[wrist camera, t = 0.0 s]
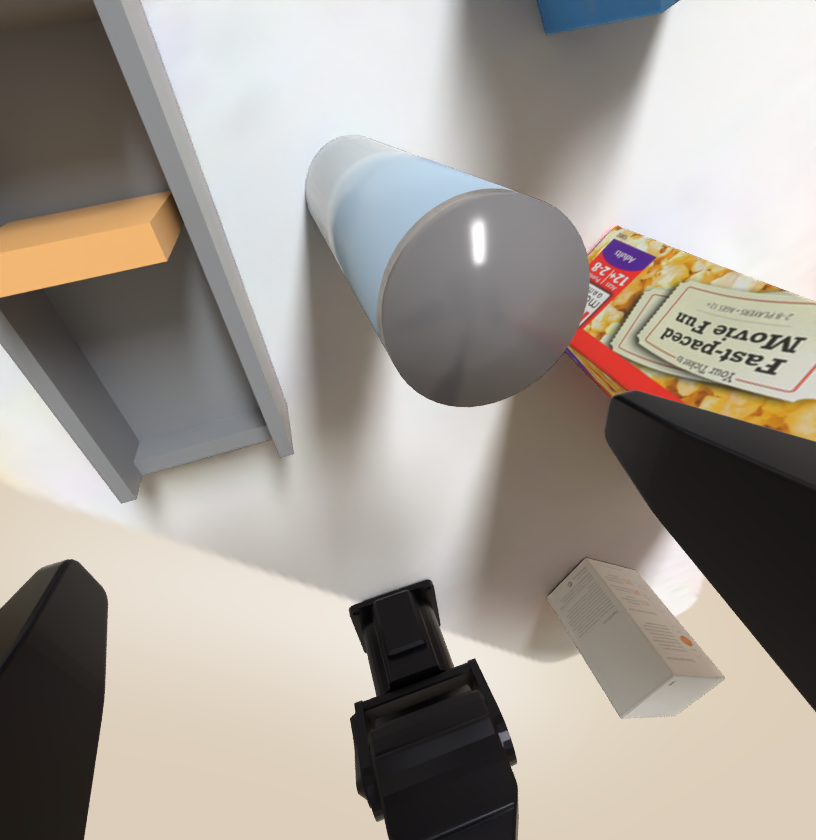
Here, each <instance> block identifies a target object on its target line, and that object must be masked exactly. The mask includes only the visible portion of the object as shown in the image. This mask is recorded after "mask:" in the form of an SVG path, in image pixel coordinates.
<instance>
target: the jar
mask: <svg viewBox="0 0 816 840" xmlns="http://www.w3.org/2000/svg"><path fill="white" fill-rule="evenodd" d="M305 193H306V201H307V205H308V208H309V211H310V213H311V215H312V217H313V219H314V221H315V223H316V225H317V226H318V228H319V230H320V232H321V234H322V235H323V237H324V239H325V241H326V243H327V244H328V246H329V248H330V250H331V252H332V254H333V255H334V257H335V259H336V261H337V263H338V264H339V266H340V268H341V270H342V272H343V273H344V275H345V277H346V279H347V281H348V282H349V284H350V286H351V288H352V290H353V291H354V293H355V295H356V297H357V299H358V300H359V302H360V304H361V306H362V308H363V309H364V311H365V313H366V315H367V317H368V318H369V320H370V322H371V324H372V326H373V327H374V329H375V331H376V333H377V335H378V336H379V338H380V340H381V342H382V344H383V345H384V347H385V349H386V351H387V353H388V355H389V356H390V358H391V360H392V362H393V364H394V365H395V367H396V369H397V370H398V372H399V373H400V375H401V377H402V378H403V379H404V380H405V381H406V382H407V384H408V385H409V386H411V387H412V388H413V389H414V390H415V391H416V392H418V393H419V394H421V395H423V396H424V397H426V398H428V399H430V400H432V401H435V402H437V403H441V404H444V405H448V406H456V407H474V406H482V405H487V404H491V403H495V402H498V401H501V400H503V399H506V398H508V397H510V396H512V395H515V394H517V393H518V392H520V391H522V390H523V389H525V388H527V387H528V386H530V385H531V384H532V383H534V382H535V381H537V380H538V379H539V378H540V377H541V376H542V375H544V374H545V373H546V372H547V371H548V370H549V369H550V368H551V367H552V366H553V365H554V364H555V363H556V362H557V360H558V359H559V358H560V356H561V355H562V354H563V353H564V351H565V350H566V348H567V347H568V345H569V344H570V342H571V341H572V339H573V337H574V335H575V333H576V331H577V329H578V327H579V325H580V322H581V320H582V317H583V314H584V311H585V307H586V304H587V299H588V293H589V281H590V273H589V262H588V257H587V253H586V249H585V246H584V244H583V241H582V238H581V237H580V235H579V233H578V231H577V230H576V228H575V226H574V225H573V224H572V223H571V222H570V220H569V219H568V218H567V217H566V216H565V215H564V214H563V213H561V212H560V211H559V210H558V209H557V208H555V207H553V206H551V205H550V204H548V203H546V202H544V201H541V200H539V199H536V198H533V197H530V196H528V195H525V194H522V193H519V192H517V191H514V190H511V189H508V188H506V187H503V186H500V185H497V184H495V183H492V182H489V181H486V180H483V179H481V178H478V177H475V176H472V175H470V174H467V173H464V172H461V171H459V170H456V169H453V168H450V167H448V166H445V165H442V164H439V163H437V162H434V161H431V160H428V159H425V158H423V157H420V156H417V155H414V154H412V153H409V152H406V151H403V150H401V149H398V148H395V147H392V146H390V145H387V144H384V143H381V142H379V141H376V140H373V139H370V138H367V137H364V136H359V135H348V136H342V137H339V138H336V139H334V140H332V141H330V142H329V143H327V144H326V145H325V146H324V147H322V148H321V149H320V150H319V152H318V153H317V154H316V155H315V157H314V159H313V160H312V162H311V164H310V166H309V169H308V172H307V177H306V184H305Z"/></svg>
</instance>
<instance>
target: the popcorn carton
mask: <svg viewBox="0 0 816 840" xmlns="http://www.w3.org/2000/svg"><path fill="white" fill-rule="evenodd" d="M587 257H588V262H589V273H590V281H589V293H588V299H587V304H586V307H585V311H584V314H583V317H582V320H581V322H580V325H579V327H578V329H577V331H576V333H575V335H574V337H573V339H572V341H571V342H570V344H569V345H568V347H567V348H566V350H565V352H566V353H567V354H568V355H569V356H570V357H571V358H572V359H573V360H574V361H575V362H576V363H577V364H578V365H579V366H580V367H581V368H582V370H583V371H584V372H585V373H586V374H587V375H588V376H589V377H590V378H591V379H592V380H593V381H594V382H595V383H596V384H597V385H598V386H599V387H600V388H601V389H602V390H603V391H604V392H605V393H606V394H607V395H608V396H609V397H610V398H612V397H613V396H614V395H617V394H620V393H623V392H627V391H630V390H638V391H642V392H645V393H649V394H652V395H655V396H659V397H662V398H666V399H669V400H673V401H676V402H680V403H683V404H687V405H690V406H694V407H697V408H701V409H704V410H708V411H711V412H715V413H718V414H722V415H725V416H729V417H732V418H736V419H739V420H743V421H746V422H750V423H753V424H757V425H760V426H763V427H767V428H770V429H774V430H777V431H781V432H784V433H788V434H791V435H795V436H798V437H802V438H805V439H809V440H812V441H816V302H815V301H812V300H810V299H807V298H804V297H802V296H799V295H796V294H794V293H791V292H788V291H786V290H783V289H780V288H778V287H775V286H772V285H770V284H767V283H764V282H762V281H759V280H756V279H754V278H751V277H749V276H746V275H743V274H741V273H738V272H735V271H733V270H730V269H727V268H725V267H722V266H719V265H717V264H714V263H712V262H709V261H707V260H704V259H701V258H699V257H696V256H694V255H691V254H689V253H686V252H684V251H681V250H678V249H675V248H673V247H670V246H668V245H666V244H664V243H662V242H659V241H656V240H653V239H651V238H648V237H645V236H643V235H640V234H638V233H635V232H633V231H630V230H628V229H624V228H621V227H619V226H616V227H614V228H613V229H612V230H611V231H610V232H609V233H608V235H607V236H606V237H605V238H604V239H603V240H602V241H601V242H600V243H599V244H598V245H597V246H596V247H595V248H594V250H593V251H592V252H591V253H590V254H589V255H588V256H587Z"/></svg>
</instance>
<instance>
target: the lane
mask: <svg viewBox="0 0 816 840" xmlns="http://www.w3.org/2000/svg"><path fill="white" fill-rule="evenodd" d="M166 191H171V192H172V194H173V197H174V199H175V202H176V204H177V207H178V209H179V212H180V214H181V216H182V219H183V221H184V225H183V227H182V229H181V232H180V234H179V236H178V238H177V240H176V243H175V245H174V247H173V249H172V252H171V254H170V256H169V258H168V260H167V261H166V262H161V263H157V264H152V265H148V266H143V267H138V268H134V269H129V270H125V271H120V272H115V273H111V274H106V275H102V276H97V277H92V278H88V279H83V280H79V281H74V282H70V283H65V284H60V285H56V286H51V287H47V288H42V289H37V290H33V291H28V292H24V293H19V294H14V295H10V296H5V297H1V298H0V344H1V345H2V346H3V348H4V349H5V350H6V352H7V353H8V354H9V356H10V357H11V358H12V360H13V361H14V362H15V364H16V365H17V366H18V368H19V369H20V370H21V371H22V373H23V374H24V375H25V377H26V378H27V379H28V381H29V382H30V383H31V385H32V386H33V387H34V389H35V390H36V391H37V393H38V394H39V395H40V397H41V398H42V399H43V401H44V402H45V403H46V405H47V406H48V407H49V409H50V410H51V411H52V413H53V414H54V415H55V417H56V418H57V419H58V421H59V422H60V423H61V425H62V426H63V427H64V428H65V430H66V431H67V432H68V434H69V435H70V436H71V438H72V439H73V440H74V442H75V443H76V444H77V446H78V447H79V448H80V450H81V451H82V452H83V454H84V455H85V456H86V458H87V459H88V460H89V462H90V463H91V464H92V466H93V467H94V468H95V470H96V471H97V472H98V474H99V475H100V476H101V478H102V479H103V480H104V481H105V483H106V484H107V485H108V487H109V488H110V489H111V491H112V492H113V493H114V495H115V496H116V497H117V499H118V500H119V501H120V503H121V504H122V503H125V502H129V501H132V500H135V499H137V495H138V491H139V487H140V483H141V480H142V476H143V475H147V474H150V473H154V472H157V471H161V470H164V469H168V468H171V467H175V466H179V465H182V464H186V463H189V462H193V461H196V460H200V459H203V458H207V457H210V456H214V455H218V454H221V453H225V452H228V451H232V450H235V449H239V448H242V447H246V446H250V445H253V444H257V443H260V442H264V441H267V440H271V439H273V441H274V444H275V446H276V449H277V451H278V453H279V456H280V458H281V457H285V456H288V455H292V454H294V450H293V443H292V436H291V429H290V422H289V415H288V408H287V403H286V400H285V398H284V395H283V392H282V389H281V387H280V384H279V381H278V378H277V376H276V373H275V370H274V367H273V365H272V362H271V359H270V356H269V354H268V351H267V348H266V345H265V343H264V340H263V337H262V334H261V332H260V329H259V326H258V323H257V321H256V318H255V315H254V312H253V309H252V307H251V304H250V301H249V298H248V296H247V293H246V290H245V287H244V285H243V282H242V279H241V276H240V274H239V271H238V268H237V265H236V263H235V260H234V257H233V254H232V252H231V249H230V246H229V243H228V241H227V238H226V235H225V232H224V230H223V227H222V224H221V221H220V219H219V216H218V213H217V210H216V208H215V205H214V202H213V199H212V197H211V194H210V191H209V188H208V185H207V183H206V180H205V177H204V174H203V172H202V169H201V166H200V163H199V161H198V158H197V155H196V152H195V150H194V147H193V144H192V141H191V139H190V136H189V133H188V130H187V128H186V125H185V122H184V119H183V117H182V114H181V111H180V108H179V106H178V103H177V100H176V97H175V95H174V92H173V89H172V86H171V84H170V81H169V78H168V75H167V73H166V70H165V67H164V64H163V62H162V59H161V56H160V53H159V50H158V48H157V45H156V42H155V39H154V37H153V34H152V31H151V28H150V26H149V23H148V20H147V17H146V15H145V12H144V9H143V6H142V4H141V1H140V0H0V227H2V226H3V225H5V224H7V223H9V222H13V221H19V220H24V219H29V218H34V217H39V216H44V215H49V214H54V213H59V212H64V211H69V210H75V209H80V208H85V207H90V206H95V205H100V204H105V203H110V202H115V201H120V200H125V199H130V198H136V197H141V196H146V195H151V194H156V193H161V192H166Z"/></svg>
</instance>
